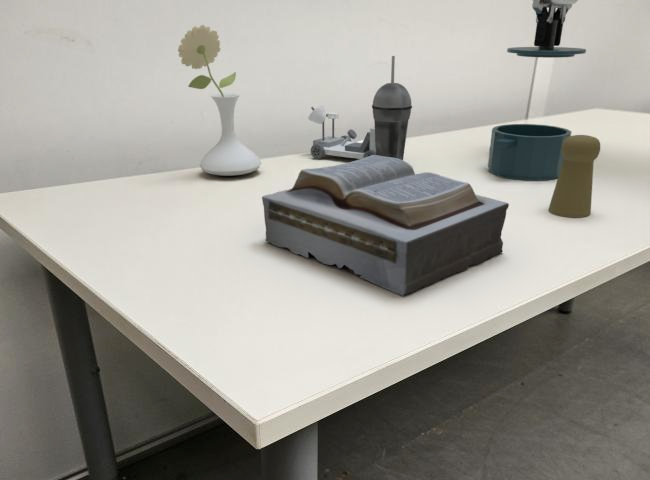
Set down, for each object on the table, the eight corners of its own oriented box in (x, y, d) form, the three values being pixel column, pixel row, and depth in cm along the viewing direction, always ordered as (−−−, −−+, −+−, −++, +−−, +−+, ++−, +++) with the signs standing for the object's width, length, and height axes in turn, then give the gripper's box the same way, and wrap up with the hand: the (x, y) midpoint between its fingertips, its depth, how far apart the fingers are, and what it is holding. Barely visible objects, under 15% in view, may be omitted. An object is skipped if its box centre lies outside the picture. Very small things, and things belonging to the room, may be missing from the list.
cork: (587, 206, 94) (602, 132, 89) (593, 218, 88) (609, 140, 83) (546, 204, 95) (558, 131, 90) (550, 215, 90) (562, 138, 85)
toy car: (298, 107, 122) (329, 100, 131) (299, 156, 127) (330, 147, 135) (377, 114, 113) (405, 106, 122) (376, 167, 118) (403, 156, 126)
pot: (584, 169, 116) (591, 128, 112) (531, 187, 104) (538, 142, 101) (520, 158, 124) (525, 120, 121) (465, 173, 113) (469, 132, 109)
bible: (388, 207, 94) (391, 141, 89) (526, 261, 73) (539, 179, 69) (251, 235, 83) (247, 161, 78) (370, 307, 62) (373, 213, 58)
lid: (598, 55, 119) (605, 20, 116) (561, 59, 110) (568, 21, 107) (530, 52, 128) (535, 19, 126) (491, 55, 120) (495, 20, 117)
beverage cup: (410, 167, 117) (416, 54, 108) (406, 176, 111) (413, 57, 102) (372, 166, 119) (375, 54, 110) (367, 174, 112) (370, 56, 103)
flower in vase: (254, 164, 121) (246, 23, 109) (267, 177, 111) (260, 24, 100) (188, 169, 117) (172, 24, 106) (195, 183, 108) (179, 25, 96)
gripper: (560, -72, 103) (543, 48, 111) (604, -65, 112) (584, 45, 121) (520, -68, 107) (506, 47, 116) (565, -62, 117) (549, 43, 126)
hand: (546, 44), depth 118 cm, fingers closed on lid, 2 cm apart
